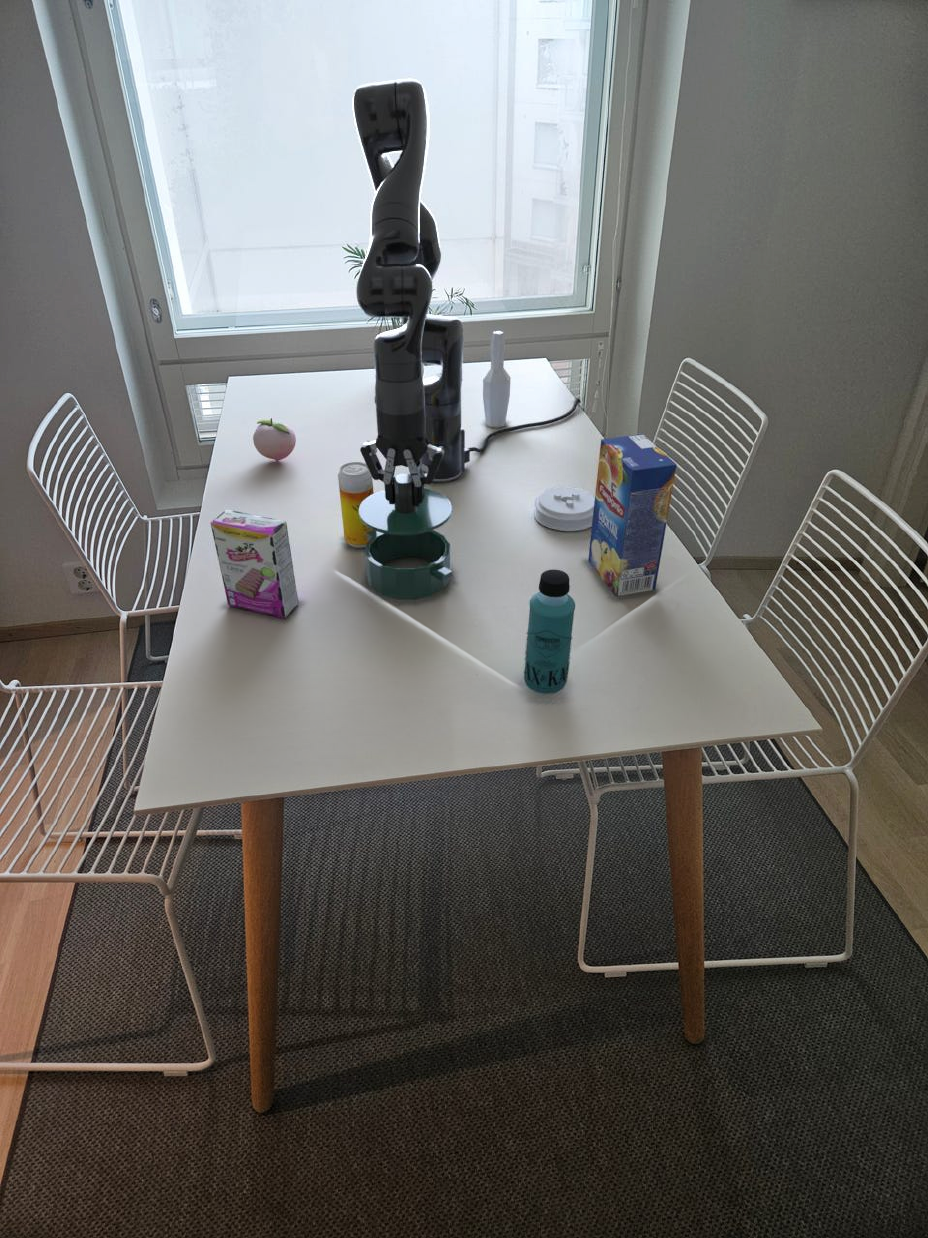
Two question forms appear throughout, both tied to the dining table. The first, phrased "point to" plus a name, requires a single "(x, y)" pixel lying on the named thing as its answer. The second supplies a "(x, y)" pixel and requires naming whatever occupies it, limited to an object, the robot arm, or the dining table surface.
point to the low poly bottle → (496, 384)
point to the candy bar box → (255, 562)
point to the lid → (565, 508)
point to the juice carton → (630, 513)
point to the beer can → (354, 501)
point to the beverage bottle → (549, 634)
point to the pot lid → (405, 510)
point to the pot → (407, 580)
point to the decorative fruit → (274, 439)
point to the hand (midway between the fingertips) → (405, 502)
